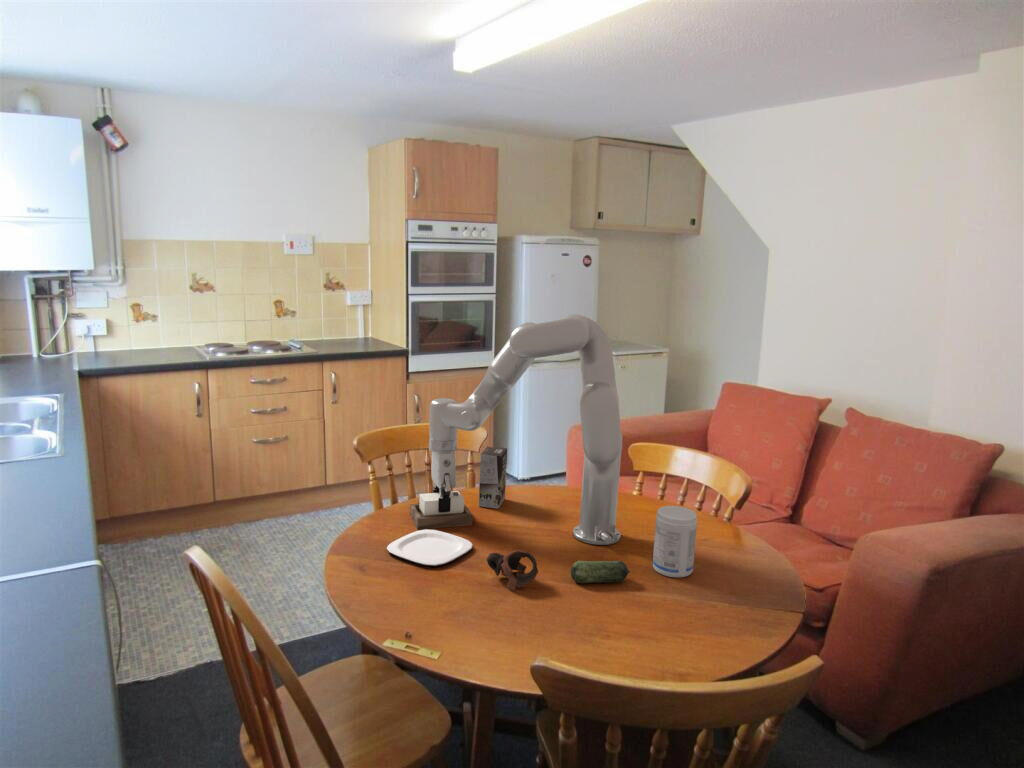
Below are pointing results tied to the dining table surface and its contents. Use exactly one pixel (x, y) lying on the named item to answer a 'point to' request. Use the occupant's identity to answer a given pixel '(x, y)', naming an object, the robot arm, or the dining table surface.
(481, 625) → the dining table surface
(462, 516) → the brown wooden tray
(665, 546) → the supplement tub
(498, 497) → the coffee box
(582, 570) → the vegetable
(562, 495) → the dining table surface
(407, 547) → the plate
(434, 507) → the white foam brick
